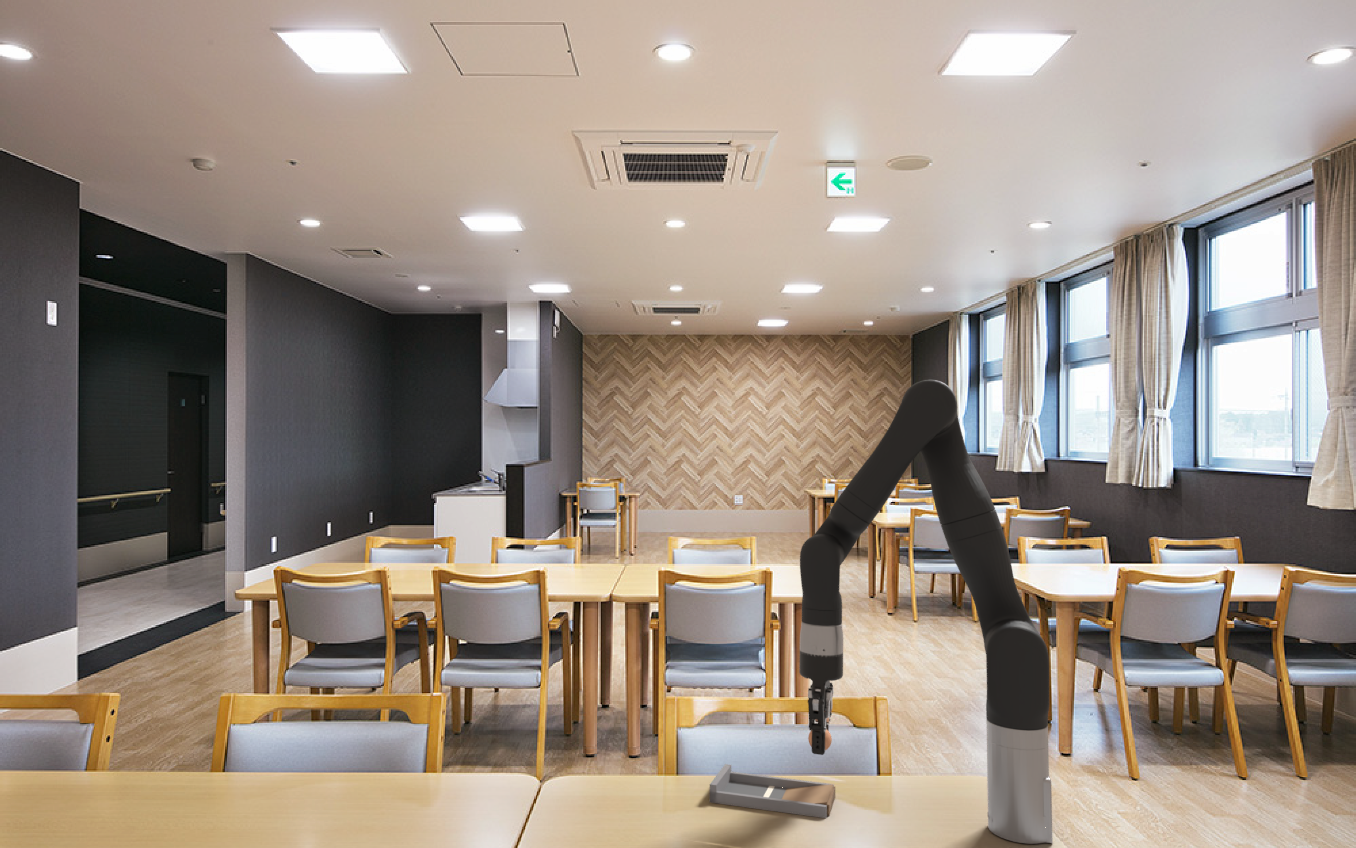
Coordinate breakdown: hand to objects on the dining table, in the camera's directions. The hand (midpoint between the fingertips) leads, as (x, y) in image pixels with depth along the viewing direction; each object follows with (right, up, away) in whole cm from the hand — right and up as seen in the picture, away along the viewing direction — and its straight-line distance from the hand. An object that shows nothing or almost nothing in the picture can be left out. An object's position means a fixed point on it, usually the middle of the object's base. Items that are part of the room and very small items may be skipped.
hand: (820, 749), depth 139 cm
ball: (0, +2, 0) cm, 2 cm away
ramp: (-2, -9, 0) cm, 10 cm away
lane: (-8, -9, +2) cm, 12 cm away
